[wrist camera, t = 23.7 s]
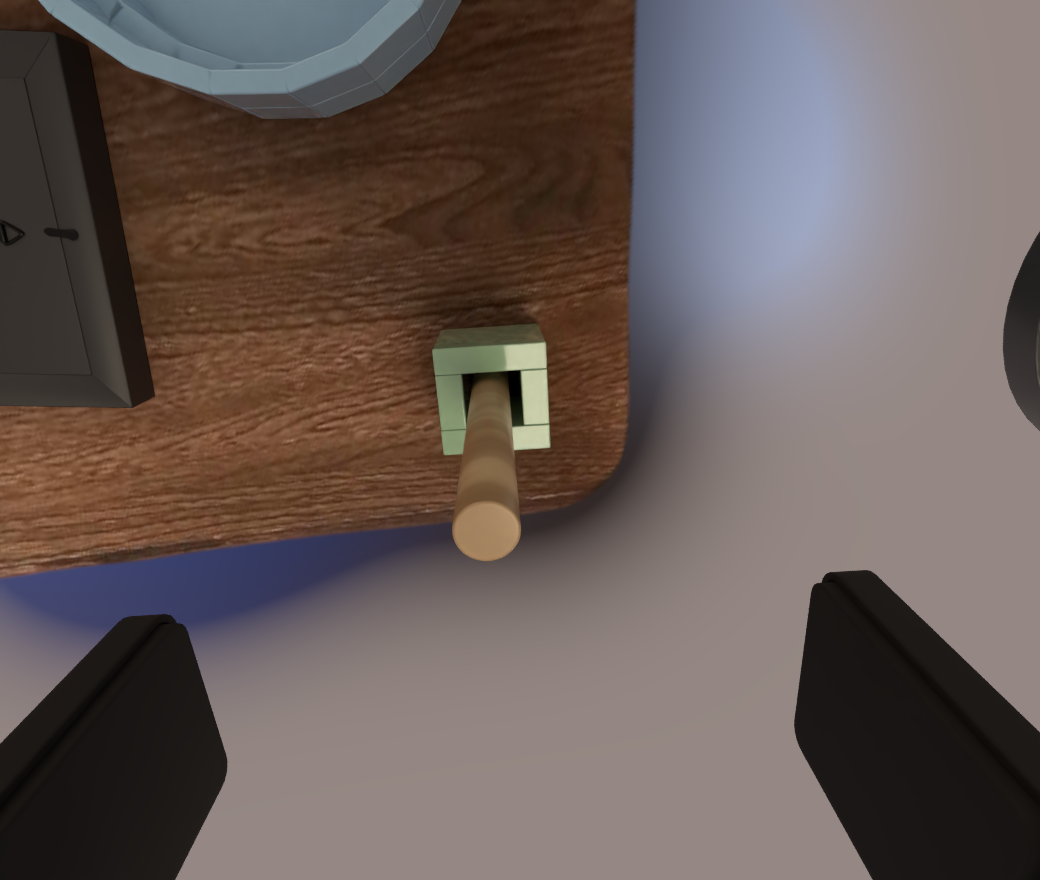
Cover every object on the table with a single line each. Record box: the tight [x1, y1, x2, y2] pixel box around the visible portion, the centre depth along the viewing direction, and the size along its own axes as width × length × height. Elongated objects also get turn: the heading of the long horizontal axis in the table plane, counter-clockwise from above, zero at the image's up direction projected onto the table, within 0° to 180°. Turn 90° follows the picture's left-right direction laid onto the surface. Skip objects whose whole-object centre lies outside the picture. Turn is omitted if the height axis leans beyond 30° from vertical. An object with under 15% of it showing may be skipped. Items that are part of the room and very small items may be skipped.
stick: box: [452, 371, 521, 561], centre depth 23 cm, size 2×2×17 cm
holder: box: [432, 324, 550, 455], centre depth 29 cm, size 5×5×5 cm
